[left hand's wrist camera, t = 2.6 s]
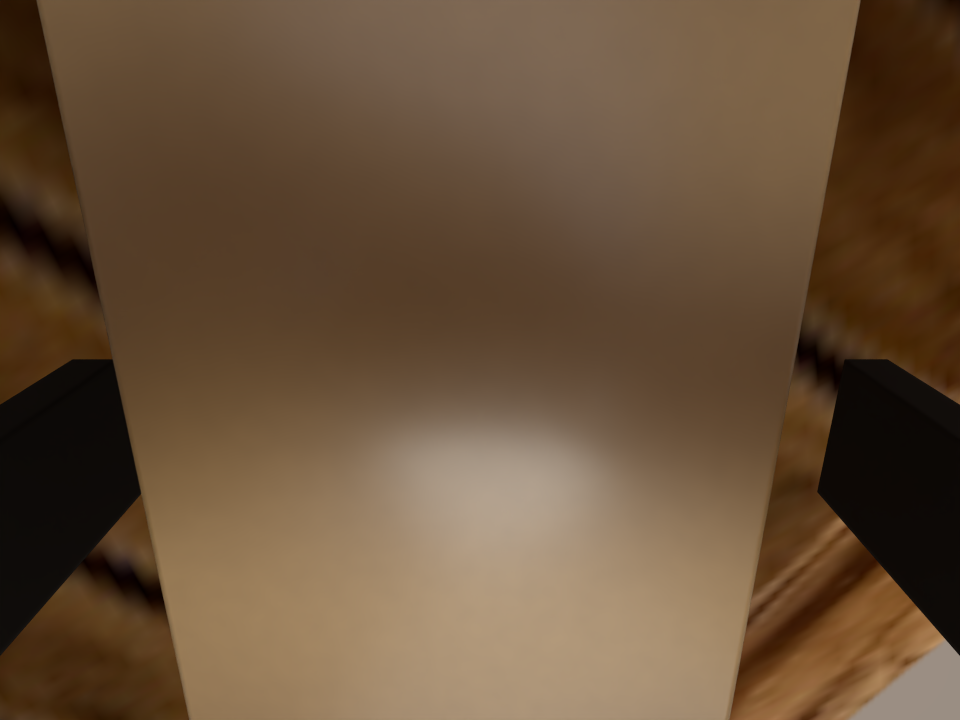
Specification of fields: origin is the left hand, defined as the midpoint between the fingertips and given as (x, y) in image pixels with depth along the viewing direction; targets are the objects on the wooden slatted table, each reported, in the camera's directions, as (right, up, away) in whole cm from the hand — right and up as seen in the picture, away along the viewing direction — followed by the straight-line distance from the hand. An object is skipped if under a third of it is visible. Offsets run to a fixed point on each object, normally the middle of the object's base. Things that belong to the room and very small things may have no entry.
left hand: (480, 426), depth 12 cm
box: (0, +11, +2) cm, 11 cm away
